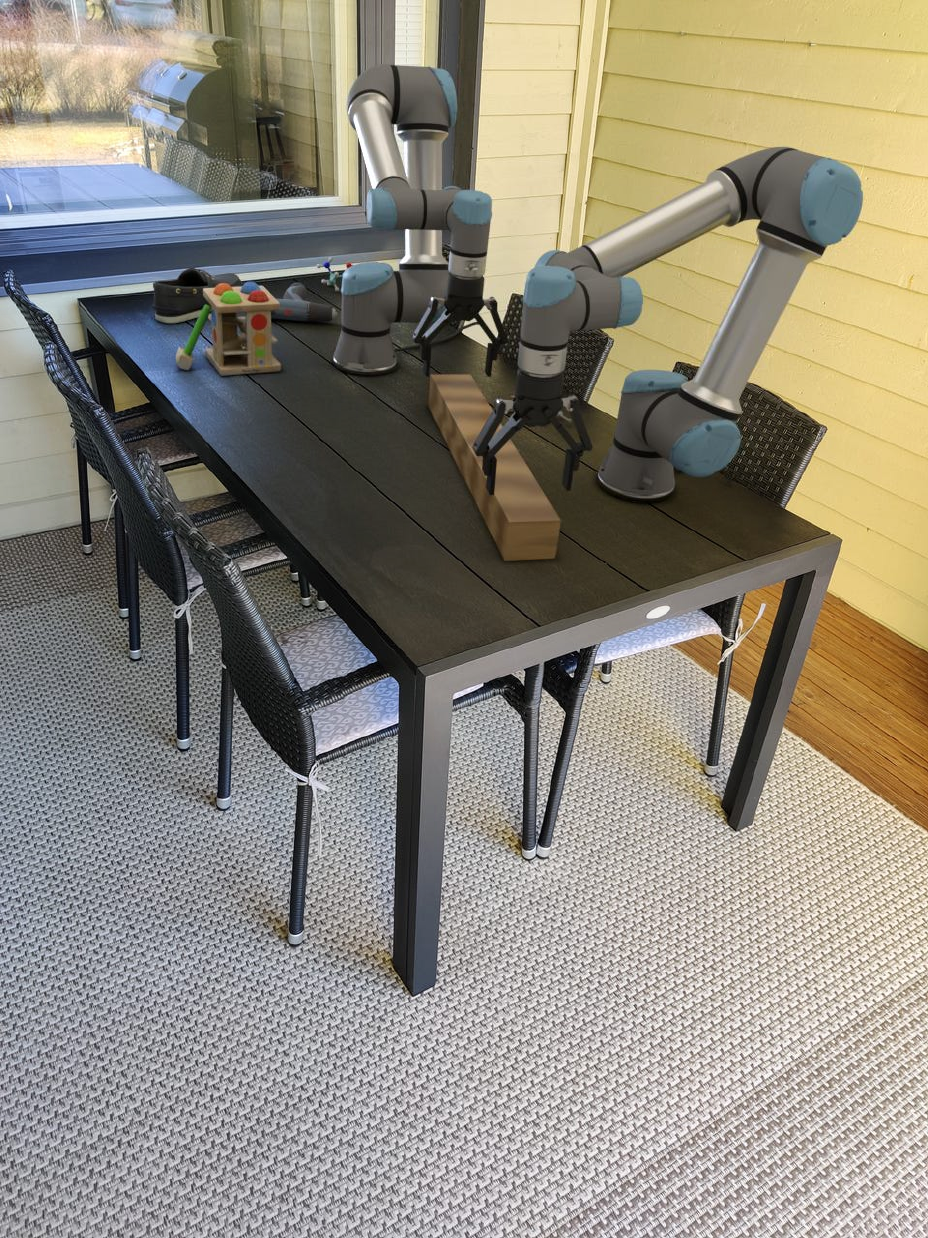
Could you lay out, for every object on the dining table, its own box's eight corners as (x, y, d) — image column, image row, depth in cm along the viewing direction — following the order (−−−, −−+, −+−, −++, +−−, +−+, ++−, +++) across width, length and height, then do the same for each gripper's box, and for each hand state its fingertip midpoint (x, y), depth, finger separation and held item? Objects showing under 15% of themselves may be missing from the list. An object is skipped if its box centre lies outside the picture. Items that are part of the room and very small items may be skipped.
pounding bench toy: (183, 379, 220) (176, 299, 210) (169, 357, 231) (162, 280, 221) (282, 371, 230) (280, 294, 220) (264, 350, 240) (262, 276, 230)
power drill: (344, 304, 276) (335, 327, 259) (277, 298, 275) (264, 321, 258) (344, 285, 273) (335, 306, 256) (277, 279, 272) (264, 300, 255)
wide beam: (428, 406, 220) (430, 374, 216) (467, 406, 222) (470, 374, 218) (504, 561, 167) (509, 522, 162) (554, 558, 169) (560, 520, 164)
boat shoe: (261, 302, 273) (259, 263, 267) (172, 325, 249) (168, 283, 243) (227, 293, 278) (225, 255, 273) (137, 316, 254) (132, 274, 249)
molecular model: (349, 283, 280) (337, 248, 279) (321, 295, 284) (310, 261, 283) (366, 286, 291) (354, 252, 289) (339, 298, 294) (328, 265, 293)
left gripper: (408, 278, 192) (402, 381, 205) (530, 281, 198) (517, 381, 210) (402, 266, 198) (397, 367, 210) (520, 269, 204) (508, 367, 216)
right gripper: (469, 380, 150) (462, 503, 162) (622, 375, 155) (604, 495, 167) (459, 363, 156) (452, 482, 168) (607, 358, 161) (590, 475, 173)
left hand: (457, 374), depth 210 cm, fingers open, 13 cm apart
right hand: (528, 489), depth 168 cm, fingers open, 13 cm apart
